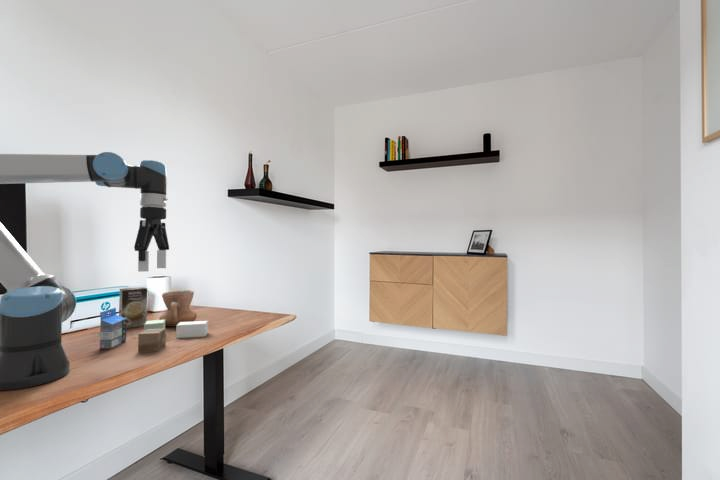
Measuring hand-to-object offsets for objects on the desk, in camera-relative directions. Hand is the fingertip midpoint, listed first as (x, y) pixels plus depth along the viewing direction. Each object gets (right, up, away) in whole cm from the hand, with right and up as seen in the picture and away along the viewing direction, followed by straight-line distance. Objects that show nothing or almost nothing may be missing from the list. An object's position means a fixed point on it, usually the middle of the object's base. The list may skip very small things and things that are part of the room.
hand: (152, 269), depth 112 cm
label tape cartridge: (-16, -27, +3) cm, 31 cm away
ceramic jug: (-9, -27, +33) cm, 43 cm away
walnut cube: (0, -27, 0) cm, 27 cm away
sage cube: (-7, -27, +13) cm, 30 cm away
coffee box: (-27, -27, +30) cm, 48 cm away
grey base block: (+6, -27, +16) cm, 32 cm away
